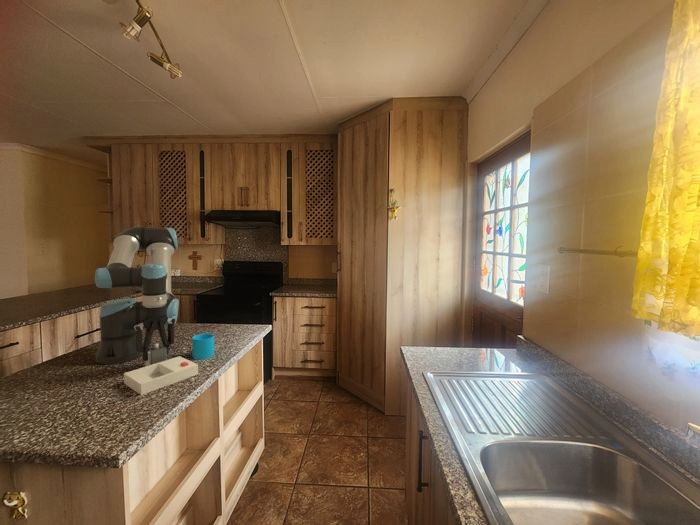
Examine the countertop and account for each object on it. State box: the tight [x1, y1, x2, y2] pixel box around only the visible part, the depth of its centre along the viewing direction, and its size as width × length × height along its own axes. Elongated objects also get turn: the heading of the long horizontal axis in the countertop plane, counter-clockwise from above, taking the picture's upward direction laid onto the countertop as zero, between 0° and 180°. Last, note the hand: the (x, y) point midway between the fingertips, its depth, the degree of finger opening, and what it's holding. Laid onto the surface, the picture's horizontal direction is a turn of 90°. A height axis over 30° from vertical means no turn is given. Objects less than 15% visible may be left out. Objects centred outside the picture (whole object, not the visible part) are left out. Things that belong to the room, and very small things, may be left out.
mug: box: [191, 333, 215, 360], centre depth 124 cm, size 12×8×8 cm
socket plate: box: [123, 355, 199, 396], centre depth 101 cm, size 13×18×4 cm
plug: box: [149, 342, 167, 365], centre depth 110 cm, size 5×5×9 cm
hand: (156, 365), depth 110 cm, fingers closed on plug, 5 cm apart
